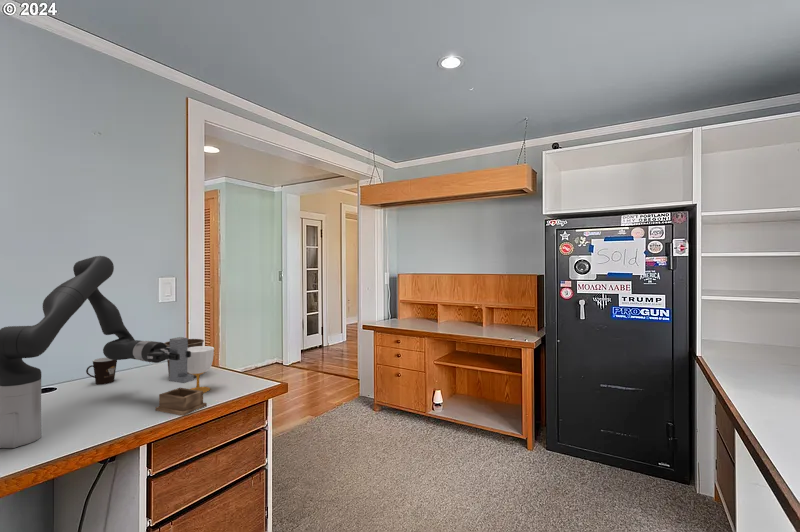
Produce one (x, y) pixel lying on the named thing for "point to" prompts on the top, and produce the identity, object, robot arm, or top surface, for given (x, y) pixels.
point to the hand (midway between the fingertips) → (184, 355)
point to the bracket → (179, 361)
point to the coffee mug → (103, 370)
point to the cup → (200, 363)
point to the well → (180, 401)
